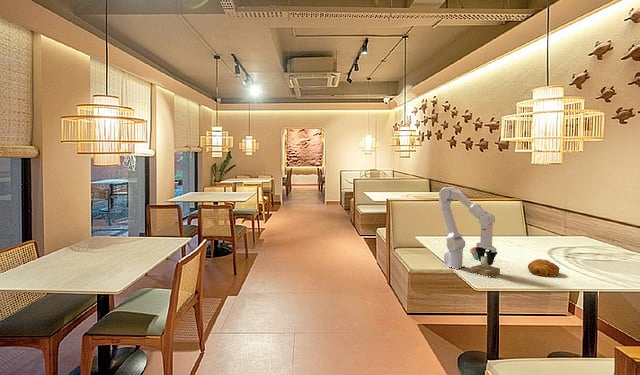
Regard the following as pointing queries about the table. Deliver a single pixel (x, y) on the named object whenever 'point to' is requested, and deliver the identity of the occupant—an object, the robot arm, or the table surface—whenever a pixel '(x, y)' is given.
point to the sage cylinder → (485, 263)
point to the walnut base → (485, 270)
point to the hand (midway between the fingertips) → (485, 263)
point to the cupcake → (474, 252)
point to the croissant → (543, 268)
